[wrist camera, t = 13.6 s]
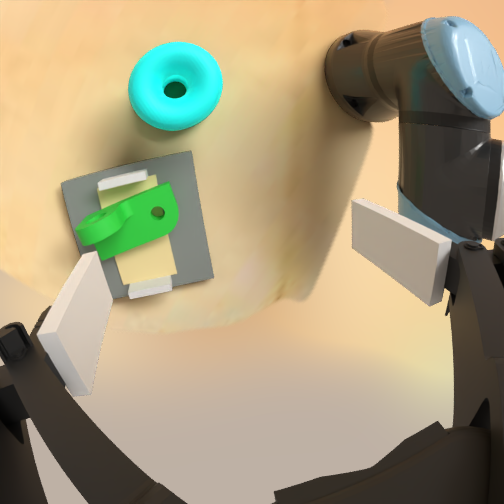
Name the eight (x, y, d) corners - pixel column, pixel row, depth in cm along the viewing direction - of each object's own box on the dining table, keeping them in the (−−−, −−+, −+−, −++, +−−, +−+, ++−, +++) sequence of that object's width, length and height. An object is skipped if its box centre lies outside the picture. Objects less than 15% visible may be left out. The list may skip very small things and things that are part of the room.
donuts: (161, 149, 30) (108, 75, 25) (164, 145, 39) (123, 88, 34) (243, 95, 30) (191, 22, 25) (227, 103, 39) (186, 46, 34)
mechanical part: (104, 255, 40) (92, 281, 33) (86, 215, 37) (69, 235, 30) (184, 223, 41) (187, 244, 34) (169, 180, 38) (167, 192, 31)
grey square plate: (190, 150, 40) (193, 153, 35) (212, 272, 47) (217, 287, 43) (65, 180, 37) (53, 187, 32) (99, 295, 44) (93, 312, 39)
